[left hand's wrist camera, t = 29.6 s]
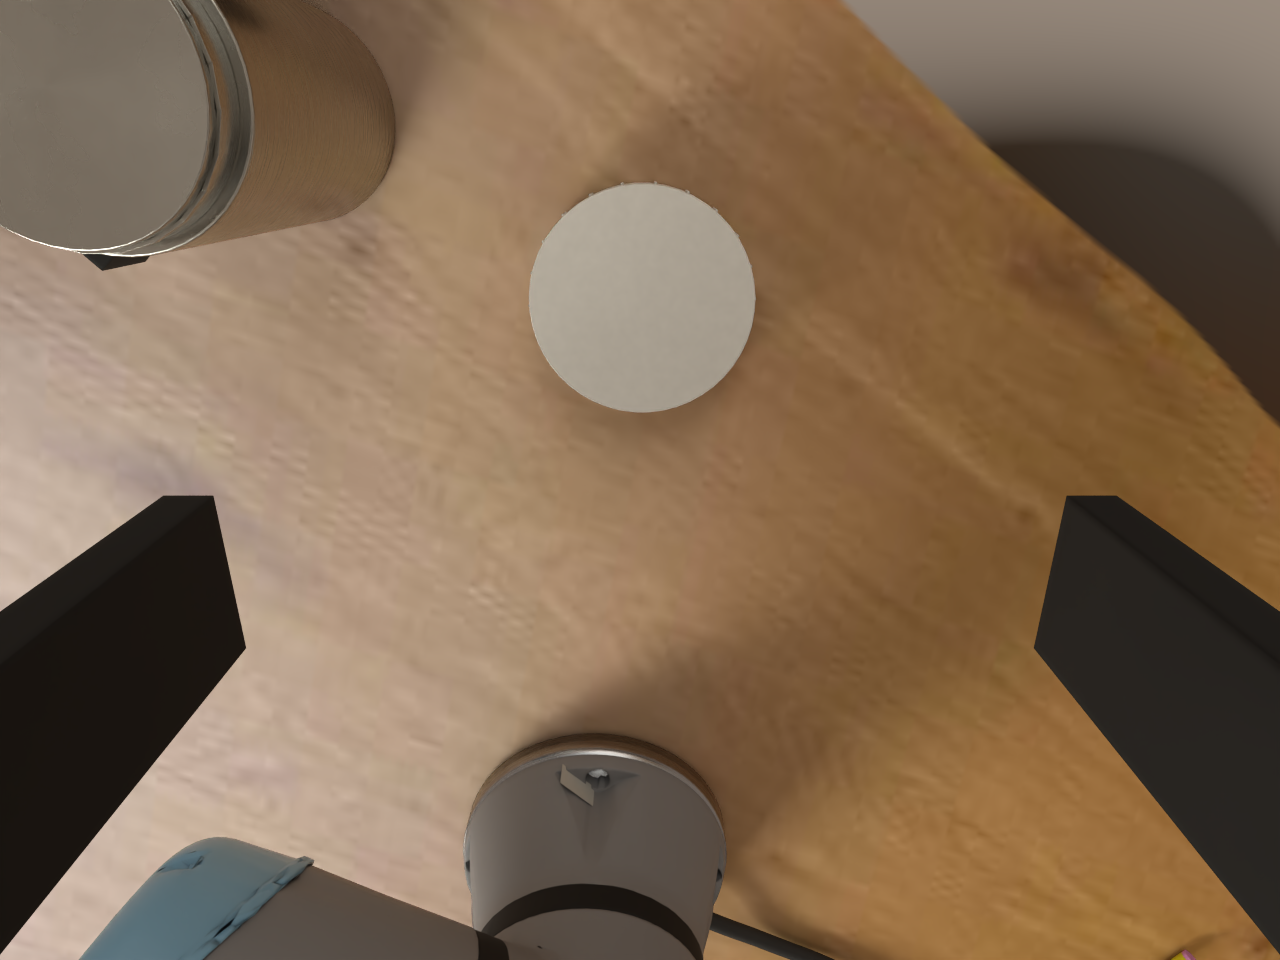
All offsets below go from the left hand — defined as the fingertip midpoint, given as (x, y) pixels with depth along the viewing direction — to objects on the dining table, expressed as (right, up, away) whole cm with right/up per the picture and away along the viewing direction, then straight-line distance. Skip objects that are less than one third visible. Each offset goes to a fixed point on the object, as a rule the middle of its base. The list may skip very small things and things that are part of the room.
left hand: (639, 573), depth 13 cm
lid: (0, +9, +22) cm, 24 cm away
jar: (-14, +17, +21) cm, 30 cm away
